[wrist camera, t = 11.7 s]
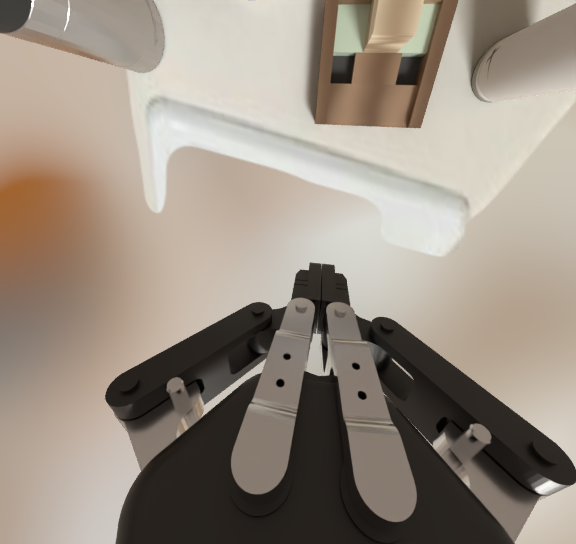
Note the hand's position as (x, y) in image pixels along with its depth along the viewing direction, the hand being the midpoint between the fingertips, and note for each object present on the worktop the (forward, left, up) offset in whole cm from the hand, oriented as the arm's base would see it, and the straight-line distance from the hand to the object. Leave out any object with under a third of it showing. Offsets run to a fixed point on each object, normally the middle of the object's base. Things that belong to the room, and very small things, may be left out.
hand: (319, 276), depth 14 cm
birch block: (+5, +17, -27) cm, 33 cm away
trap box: (+5, +14, -29) cm, 33 cm away
